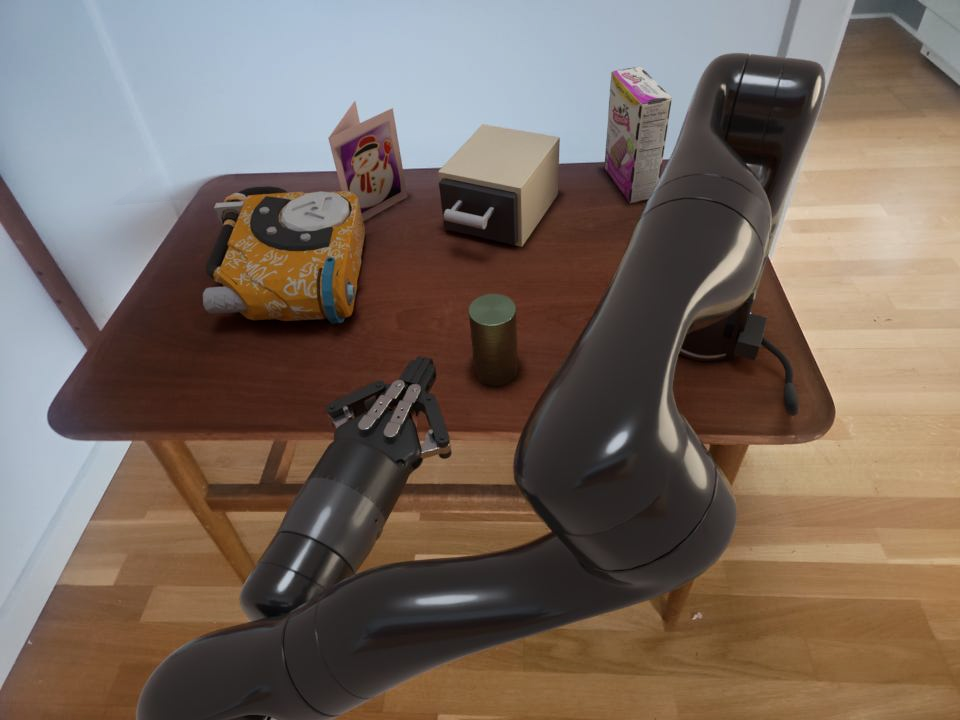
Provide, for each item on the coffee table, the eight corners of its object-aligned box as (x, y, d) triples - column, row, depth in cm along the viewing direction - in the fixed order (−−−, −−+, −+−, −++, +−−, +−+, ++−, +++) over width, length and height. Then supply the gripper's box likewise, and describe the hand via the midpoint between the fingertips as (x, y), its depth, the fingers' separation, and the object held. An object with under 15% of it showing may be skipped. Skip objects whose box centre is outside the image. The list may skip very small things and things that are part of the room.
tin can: (524, 361, 79) (523, 300, 71) (507, 391, 75) (504, 330, 68) (485, 350, 80) (481, 288, 73) (467, 379, 77) (460, 318, 70)
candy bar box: (601, 169, 107) (609, 70, 95) (629, 164, 108) (641, 64, 96) (628, 205, 100) (640, 102, 88) (658, 199, 100) (674, 96, 88)
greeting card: (354, 230, 100) (331, 139, 89) (327, 212, 104) (302, 123, 93) (410, 198, 105) (396, 109, 94) (383, 182, 109) (366, 95, 98)
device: (158, 298, 78) (222, 168, 99) (185, 345, 84) (240, 214, 105) (343, 287, 78) (368, 158, 98) (357, 335, 84) (378, 205, 104)
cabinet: (522, 247, 94) (521, 188, 87) (444, 229, 99) (437, 171, 91) (558, 194, 103) (560, 137, 96) (485, 179, 107) (482, 123, 100)
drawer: (502, 263, 90) (500, 215, 85) (430, 245, 94) (423, 198, 89) (549, 196, 101) (550, 150, 95) (482, 182, 105) (479, 137, 99)
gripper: (407, 507, 49) (486, 350, 60) (261, 461, 53) (361, 322, 64) (420, 553, 54) (490, 402, 65) (287, 509, 58) (374, 373, 69)
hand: (426, 363), depth 64 cm, fingers closed
